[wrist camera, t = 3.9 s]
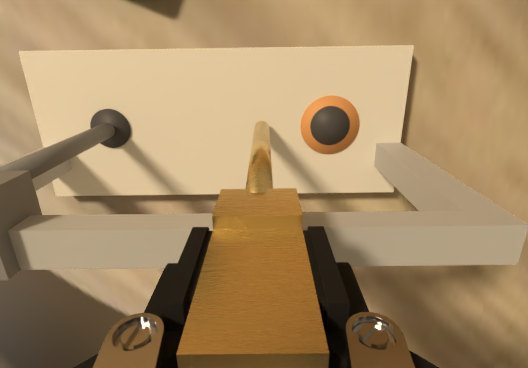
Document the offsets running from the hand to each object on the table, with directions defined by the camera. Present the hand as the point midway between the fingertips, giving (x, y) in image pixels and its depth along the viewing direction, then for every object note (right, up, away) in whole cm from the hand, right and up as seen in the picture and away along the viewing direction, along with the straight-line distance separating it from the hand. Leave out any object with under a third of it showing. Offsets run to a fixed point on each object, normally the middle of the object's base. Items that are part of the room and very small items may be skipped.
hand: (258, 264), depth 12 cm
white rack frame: (-3, +8, +17) cm, 19 cm away
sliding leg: (0, +6, +15) cm, 17 cm away
